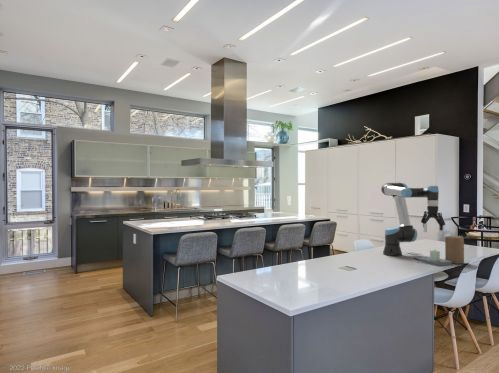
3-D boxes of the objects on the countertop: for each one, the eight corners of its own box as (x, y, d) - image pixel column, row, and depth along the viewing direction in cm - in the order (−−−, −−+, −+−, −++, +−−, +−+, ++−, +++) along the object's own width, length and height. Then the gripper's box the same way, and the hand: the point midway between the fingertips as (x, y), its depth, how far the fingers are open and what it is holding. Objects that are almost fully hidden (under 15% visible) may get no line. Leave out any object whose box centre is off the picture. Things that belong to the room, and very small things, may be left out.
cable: (419, 256, 285) (419, 255, 285) (419, 256, 285) (419, 255, 285) (434, 259, 275) (434, 258, 275) (435, 259, 276) (435, 257, 276)
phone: (413, 259, 275) (413, 258, 275) (422, 257, 281) (422, 256, 281) (420, 260, 270) (420, 259, 270) (429, 259, 276) (429, 257, 276)
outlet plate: (418, 261, 268) (418, 258, 268) (431, 259, 273) (431, 256, 273) (438, 265, 251) (438, 262, 251) (451, 264, 256) (451, 261, 256)
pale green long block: (430, 263, 260) (430, 249, 260) (434, 262, 262) (434, 249, 262) (435, 264, 256) (435, 250, 256) (439, 263, 258) (439, 250, 258)
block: (444, 262, 263) (444, 236, 264) (450, 260, 269) (450, 235, 270) (459, 264, 255) (458, 237, 256) (464, 262, 262) (464, 236, 262)
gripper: (416, 204, 273) (415, 231, 273) (443, 206, 250) (443, 235, 250) (423, 204, 276) (422, 230, 276) (450, 206, 252) (450, 235, 253)
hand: (432, 233), depth 263 cm, fingers open, 13 cm apart
